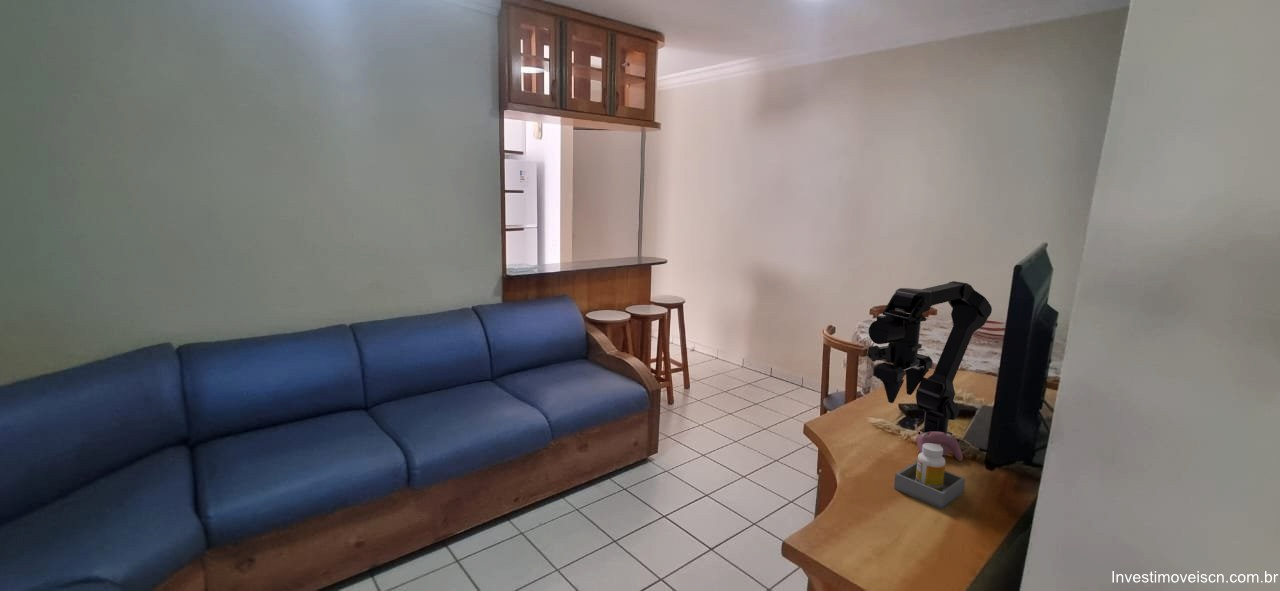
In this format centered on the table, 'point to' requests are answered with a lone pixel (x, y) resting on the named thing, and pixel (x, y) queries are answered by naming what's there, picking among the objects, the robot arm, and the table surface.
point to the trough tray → (908, 485)
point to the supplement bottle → (931, 466)
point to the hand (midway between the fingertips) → (900, 398)
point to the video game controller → (940, 442)
